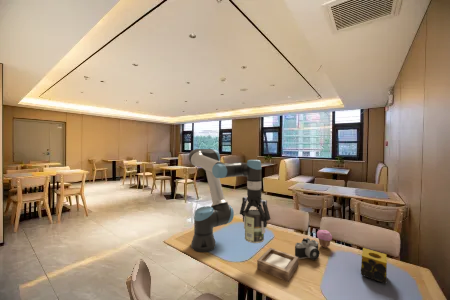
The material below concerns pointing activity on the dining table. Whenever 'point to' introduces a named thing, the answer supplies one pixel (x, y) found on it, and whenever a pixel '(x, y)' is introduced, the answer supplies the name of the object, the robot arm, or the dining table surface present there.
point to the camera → (307, 249)
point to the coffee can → (253, 227)
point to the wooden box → (278, 264)
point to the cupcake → (324, 238)
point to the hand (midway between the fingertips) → (254, 230)
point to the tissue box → (374, 265)
